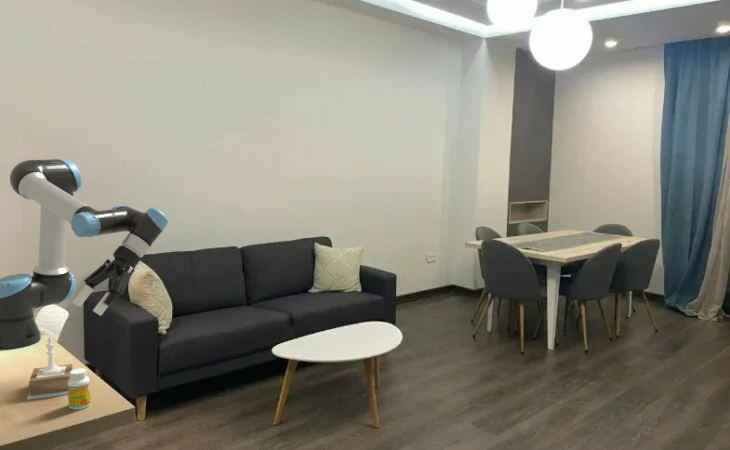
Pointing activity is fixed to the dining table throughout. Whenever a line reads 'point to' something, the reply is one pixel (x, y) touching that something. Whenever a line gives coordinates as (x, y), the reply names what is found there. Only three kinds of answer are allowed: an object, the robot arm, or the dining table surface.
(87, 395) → the supplement bottle
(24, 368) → the dining table surface
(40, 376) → the walnut plinth
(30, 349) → the dining table surface
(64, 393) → the pale blue board
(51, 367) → the chess piece
